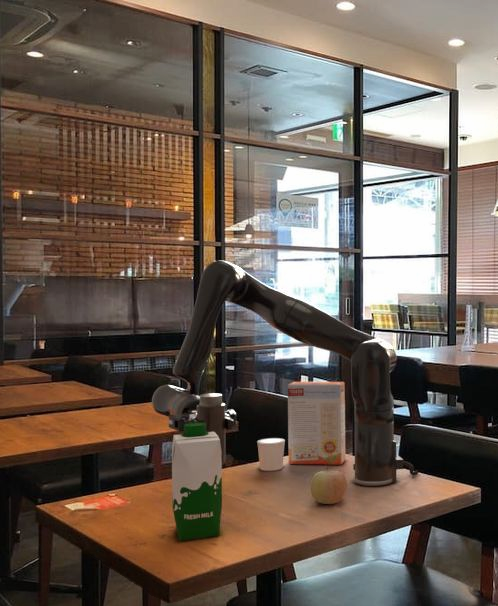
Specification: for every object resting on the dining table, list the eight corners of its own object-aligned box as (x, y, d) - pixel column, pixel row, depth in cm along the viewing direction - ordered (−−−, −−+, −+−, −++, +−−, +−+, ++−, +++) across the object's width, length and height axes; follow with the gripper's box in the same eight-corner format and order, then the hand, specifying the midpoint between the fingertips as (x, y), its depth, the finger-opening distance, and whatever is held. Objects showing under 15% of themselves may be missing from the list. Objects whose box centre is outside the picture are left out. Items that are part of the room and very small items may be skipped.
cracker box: (346, 459, 186) (345, 381, 185) (341, 465, 180) (340, 384, 179) (294, 458, 187) (293, 380, 187) (287, 464, 181) (287, 383, 181)
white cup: (261, 472, 173) (261, 444, 173) (254, 466, 180) (254, 439, 179) (288, 469, 177) (288, 441, 176) (280, 463, 183) (280, 436, 182)
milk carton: (218, 521, 137) (217, 420, 137) (225, 537, 129) (224, 428, 129) (170, 528, 134) (169, 423, 133) (174, 544, 126) (173, 432, 125)
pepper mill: (225, 458, 148) (224, 392, 147) (226, 465, 142) (225, 396, 142) (197, 460, 146) (196, 393, 146) (197, 467, 141) (196, 398, 140)
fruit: (317, 510, 144) (316, 471, 144) (306, 500, 151) (306, 463, 151) (352, 505, 147) (351, 467, 147) (340, 495, 154) (340, 459, 154)
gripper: (159, 398, 152) (178, 411, 138) (225, 393, 160) (249, 404, 145) (159, 433, 152) (178, 449, 138) (225, 426, 160) (249, 440, 146)
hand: (214, 426), depth 142 cm, fingers closed on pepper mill, 5 cm apart
